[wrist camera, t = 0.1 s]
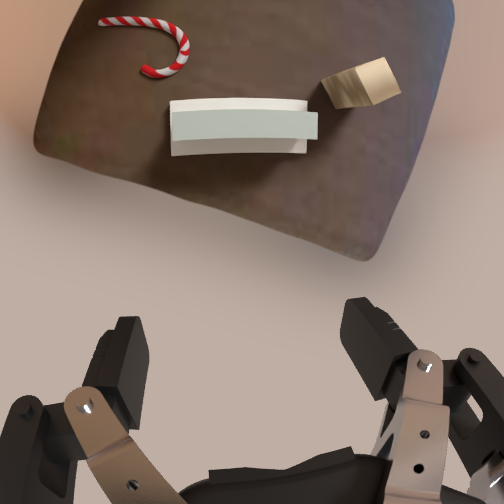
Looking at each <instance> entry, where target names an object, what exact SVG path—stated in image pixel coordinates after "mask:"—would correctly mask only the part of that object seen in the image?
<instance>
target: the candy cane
mask: <svg viewBox="0 0 504 504" xmlns="http://www.w3.org/2000/svg"><path fill="white" fill-rule="evenodd" d="M98 25H99V26H112V25H136V26H147V27H153V28H158V29H161V30H164V31H167V32H169V33H170V34H172V35H173V36H174V37H175V38H176V39H177V41H178V43H179V48H180V50H179V55H178V57H177V59H176V61H175V62H174V63H173V64H172V65H171V66H169V67H167V68H165V69H161V70H155V69H153V68H151V67H149V66H148V65H143V66H142V67H141V69H140V70H141V71H142V72H143V73H144V74H146V75H148V76H150V77H154V78H162V77H167V76H170V75H172V74H174V73H176V72H177V71H179V70H180V69H181V68H182V67H183V65H184V64H185V62H186V61H187V58H188V55H189V42H188V39H187V37H186V35H185V34H184V33H183V32H182V31H181V30H180V29H179V28H178V27H176V26H174V25H173V24H170V23H168V22H165V21H162V20H158V19H153V18H144V17H110V18H102V19H100V20H99V22H98Z"/></svg>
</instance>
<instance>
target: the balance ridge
mask: <svg viewBox="0 0 504 504" xmlns="http://www.w3.org/2000/svg"><path fill="white" fill-rule="evenodd" d="M170 131H171V156H180V155H196V154H217V153H306V151H307V139H316V140H317V131H318V112H307V101H302V100H288V99H268V98H212V99H191V100H177V101H170Z"/></svg>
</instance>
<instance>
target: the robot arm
mask: <svg viewBox="0 0 504 504" xmlns="http://www.w3.org/2000/svg"><path fill="white" fill-rule="evenodd" d="M340 338H341V342H342V344H343V346H344V348H345V350H346V351H347V353H348V355H349V357H350V358H351V360H352V362H353V363H354V365H355V367H356V369H357V370H358V372H359V374H360V375H361V377H362V379H363V381H364V382H365V384H366V386H367V387H368V389H369V391H370V393H371V395H372V396H373V398H374V400H375V401H377V400H381V399H384V398H386V399H387V400H388V403H387V405H386V407H385V411H384V415H383V419H382V423H381V427H380V430H379V434H378V437H377V441H376V444H375V446H374V448H373V450H372V452H371V455H366V454H354V453H353V450H352V448H351V446H350V447H346V448H343V449H339V450H336V451H332V452H328V453H324V454H320V455H317V456H315V457H313V458H311V459H309V460H307V461H305V462H302V463H300V464H298V465H296V466H293V467H291V468H288V469H285V470H275V469H259V468H247V467H244V468H232V469H220V470H209V478H208V479H204V480H201V481H199V482H196V483H194V484H192V485H190V486H188V487H186V488H185V489H183V490H182V491H180V492H179V493H177V492H176V491H175V490H174V489H173V488H172V487H171V486H170V484H169V483H168V482H167V481H166V480H165V479H164V478H163V476H162V475H161V474H160V473H159V472H158V471H157V470H156V468H155V467H154V466H153V465H152V463H151V462H150V461H149V460H148V458H147V457H146V456H145V455H144V453H143V452H142V451H141V449H140V448H139V447H138V446H137V444H136V443H135V442H134V440H133V439H132V438H131V437H130V436H129V435H128V434H129V429H135V430H139V426H140V418H141V411H142V404H143V397H144V390H145V383H146V378H147V371H148V366H149V350H148V345H147V342H146V338H145V334H144V331H143V327H142V323H141V320H140V317H138V316H129V317H128V316H127V317H119V319H118V321H117V324H116V327H115V329H114V330H107V331H106V332H105V333H104V335H103V336H102V337H101V338H100V339H99V342H98V344H97V347H96V350H95V352H94V354H93V358H92V360H91V362H90V365H89V368H88V370H87V373H86V376H85V379H84V382H83V384H82V387H79V388H77V389H75V390H73V391H72V392H70V393H69V394H68V396H67V397H66V399H65V402H63V403H57V404H51V405H44V406H43V404H42V403H41V401H40V400H39V399H38V398H37V397H35V396H32V395H26V396H22V397H20V398H18V399H17V400H16V401H15V402H14V403H13V404H12V406H11V408H10V411H9V414H8V416H7V419H6V422H5V425H4V427H3V430H2V433H1V436H0V504H73V499H74V488H75V479H76V470H77V462H78V460H85V459H86V462H87V464H88V466H89V468H90V470H91V471H92V473H93V475H94V477H95V478H96V480H97V482H98V483H99V485H100V486H101V488H102V490H103V491H104V493H105V494H106V495H107V497H108V498H109V500H110V502H111V503H112V504H504V377H503V376H502V375H501V373H500V372H499V371H498V370H497V369H496V367H495V366H494V365H493V364H492V363H491V362H490V361H489V359H488V358H487V357H486V356H485V355H484V354H483V353H482V352H481V351H479V350H476V349H474V348H466V349H463V350H462V351H461V352H460V354H459V356H458V358H457V359H456V360H441V359H440V357H439V356H438V355H437V354H435V353H433V352H431V351H428V350H422V349H420V350H418V349H417V347H416V346H415V345H414V344H413V343H412V341H411V340H410V339H409V338H408V337H407V335H406V334H405V333H404V332H403V331H402V330H401V329H399V326H398V325H397V324H396V323H394V320H393V319H392V318H391V317H390V316H389V315H388V313H386V312H385V311H383V310H381V309H380V308H378V307H374V306H373V305H372V304H371V302H370V301H369V300H368V299H367V298H366V297H360V298H353V299H348V300H347V301H346V303H345V307H344V313H343V318H342V323H341V328H340ZM471 395H472V396H473V398H474V399H475V400H476V402H477V403H478V405H479V406H480V408H481V409H482V412H483V419H482V422H480V421H479V419H478V418H477V416H476V415H475V413H474V412H473V410H472V409H471V407H470V406H469V404H468V403H467V400H468V399H469V397H470V396H471ZM448 437H449V439H450V440H451V442H452V444H453V446H454V448H455V450H456V451H457V453H458V455H459V457H460V459H461V460H462V462H463V464H464V466H465V468H466V470H467V472H468V474H469V476H470V478H471V481H470V487H469V488H468V490H467V494H465V493H462V492H460V491H457V490H454V489H452V488H449V487H447V486H444V485H442V480H443V474H444V467H445V460H446V452H447V443H448Z"/></svg>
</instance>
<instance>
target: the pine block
mask: <svg viewBox="0 0 504 504" xmlns="http://www.w3.org/2000/svg"><path fill="white" fill-rule="evenodd" d="M321 82H322V84H323V86H324V88H325V90H326V92H327V93H328V95H329V97H330V99H331V101H332V103H333V105H334V107H335V109H341V108H350V107H360V106H371V105H375V104H377V103H379V102H381V101H383V100H386V99H388V98H390V97H392V96H394V95H397V94H399V93H401V91H400V89H399V86H398V84H397V82H396V80H395V78H394V76H393V73H392V71H391V69H390V67H389V65H388V63H387V61H386V59H385V57H383V58H380V59H377V60H373V61H370V62H367V63H364V64H361V65H359V66H356V67H353V68H350V69H347V70H345V71H342V72H340V73H337V74H335V75H333V76H330V77H328V78H326V79H323V80H321Z"/></svg>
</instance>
